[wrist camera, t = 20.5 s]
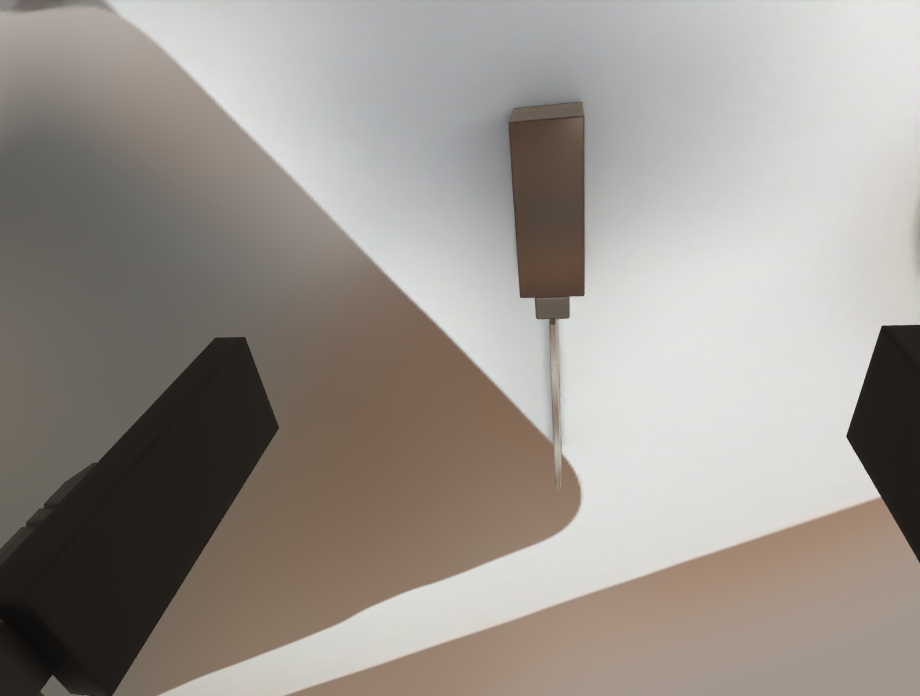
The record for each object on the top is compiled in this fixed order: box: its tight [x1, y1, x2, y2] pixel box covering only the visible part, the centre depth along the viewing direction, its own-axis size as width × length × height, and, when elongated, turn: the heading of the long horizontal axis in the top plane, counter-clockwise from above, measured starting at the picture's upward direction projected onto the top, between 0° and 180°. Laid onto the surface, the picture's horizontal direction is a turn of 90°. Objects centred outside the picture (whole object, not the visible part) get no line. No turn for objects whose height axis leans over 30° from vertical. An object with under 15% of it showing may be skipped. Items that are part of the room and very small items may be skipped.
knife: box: [509, 102, 584, 490], centre depth 29 cm, size 20×3×4 cm, turn 7°
